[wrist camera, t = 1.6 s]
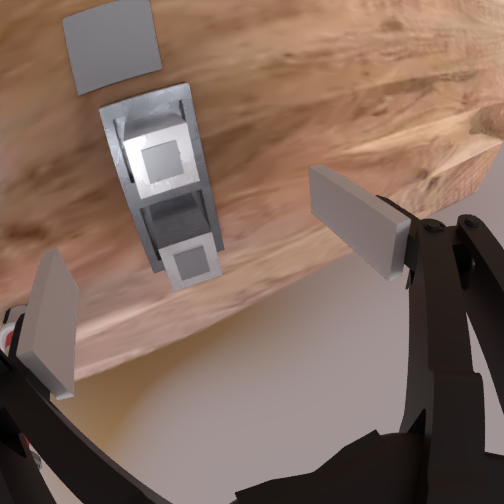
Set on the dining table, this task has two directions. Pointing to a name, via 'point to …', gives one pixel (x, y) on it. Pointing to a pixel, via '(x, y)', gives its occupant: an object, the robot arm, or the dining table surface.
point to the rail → (114, 125)
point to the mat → (111, 43)
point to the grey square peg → (160, 152)
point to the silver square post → (184, 241)
